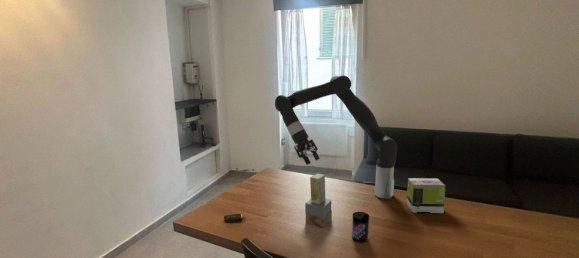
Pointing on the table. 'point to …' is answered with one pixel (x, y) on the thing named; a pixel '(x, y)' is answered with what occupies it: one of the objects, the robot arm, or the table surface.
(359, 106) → the robot arm
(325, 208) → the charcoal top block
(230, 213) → the table surface
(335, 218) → the table surface
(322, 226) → the walnut base block
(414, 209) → the tea box
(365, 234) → the supplement container
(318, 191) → the skincare box
